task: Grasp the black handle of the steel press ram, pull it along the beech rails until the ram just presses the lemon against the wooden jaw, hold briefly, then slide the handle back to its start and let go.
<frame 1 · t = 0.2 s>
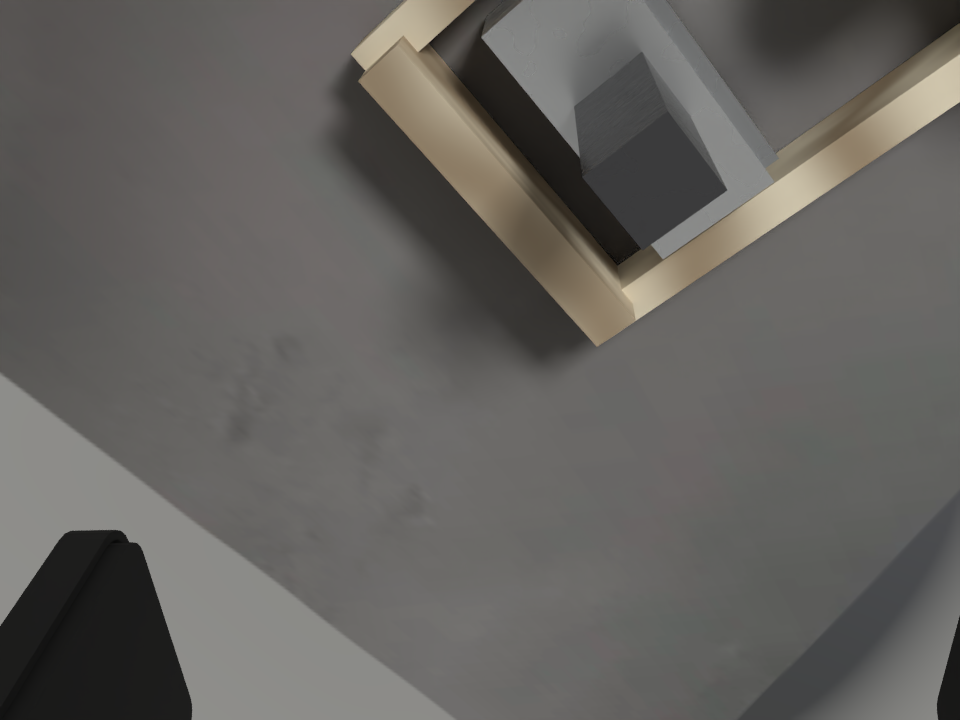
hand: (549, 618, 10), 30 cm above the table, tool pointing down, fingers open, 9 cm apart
ram: (643, 120, 31), point 6 cm above the table, slide at 0.0 cm
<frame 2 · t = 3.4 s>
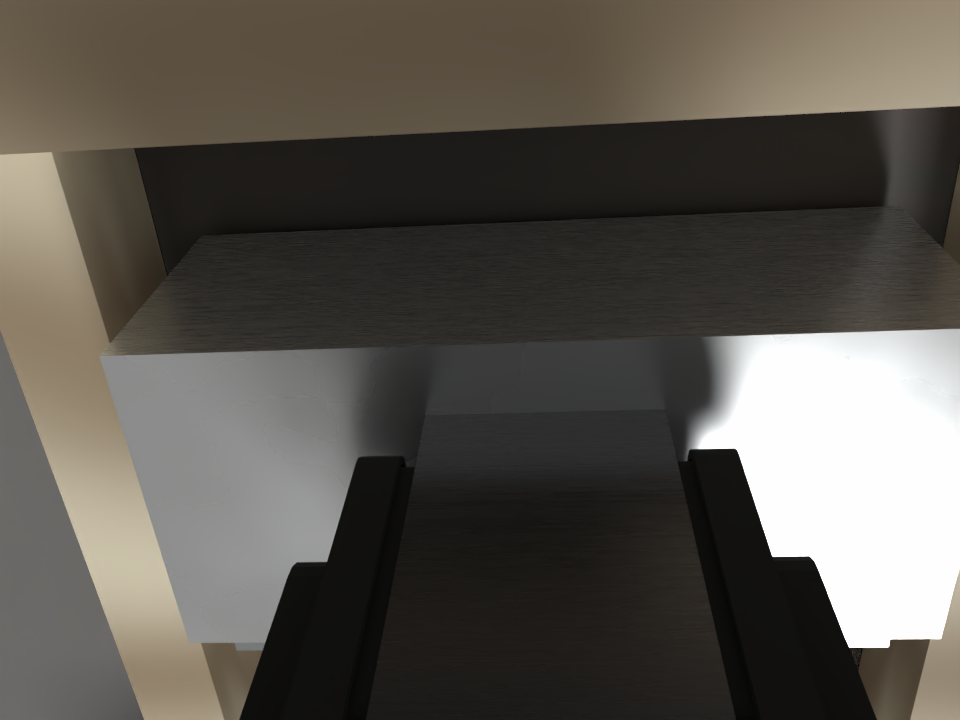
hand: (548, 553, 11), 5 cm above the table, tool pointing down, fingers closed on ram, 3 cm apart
ram: (549, 620, 11), point 6 cm above the table, slide at 0.0 cm, touching gripper
press frame: (553, 603, 19), on the table
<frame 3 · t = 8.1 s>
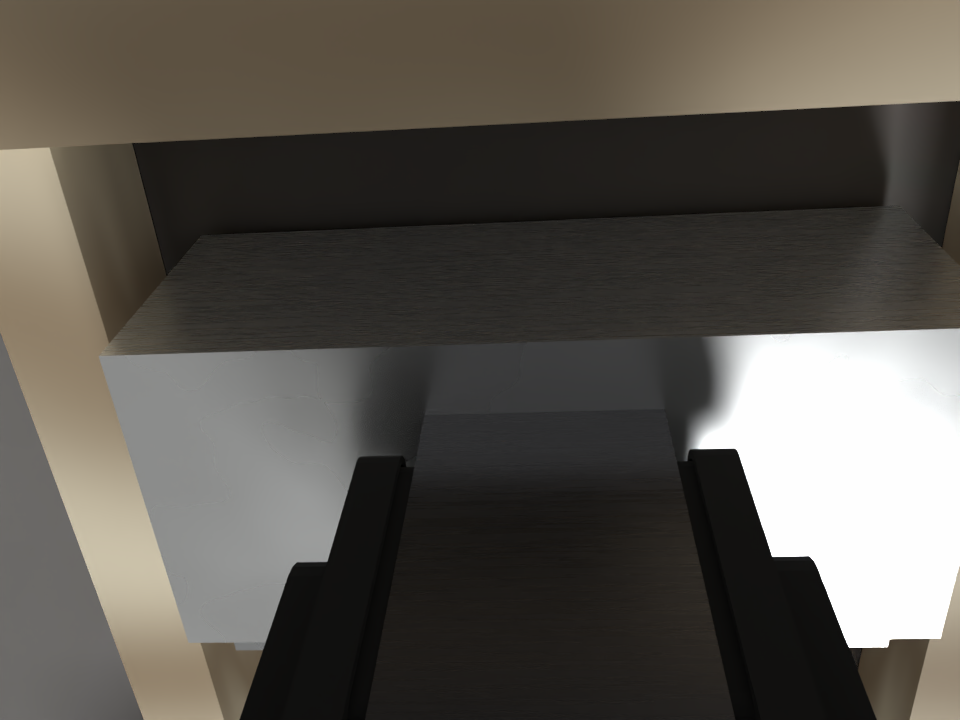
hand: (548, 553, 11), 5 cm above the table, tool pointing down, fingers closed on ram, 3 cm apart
ram: (549, 620, 11), point 6 cm above the table, slide at 0.1 cm, touching gripper
press frame: (553, 601, 19), on the table
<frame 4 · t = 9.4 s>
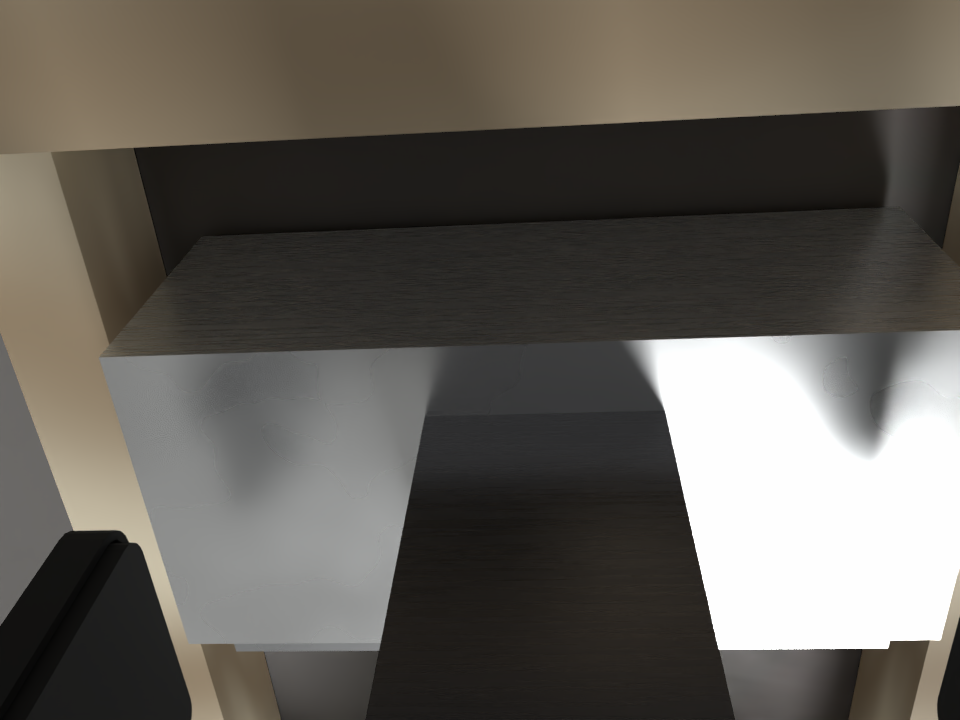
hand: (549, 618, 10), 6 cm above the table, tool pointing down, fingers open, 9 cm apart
ram: (549, 622, 11), point 6 cm above the table, slide at 0.0 cm
press frame: (553, 603, 19), on the table
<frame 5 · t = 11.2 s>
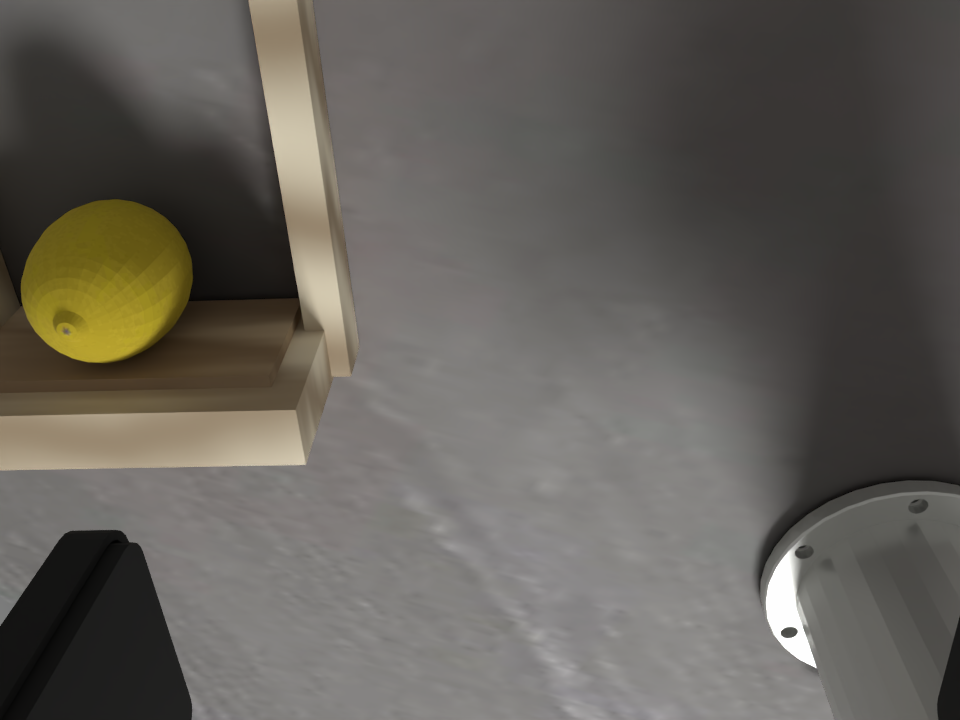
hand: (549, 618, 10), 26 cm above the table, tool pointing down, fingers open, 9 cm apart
lemon: (150, 233, 37), resting in press frame
press frame: (100, 45, 33), on the table
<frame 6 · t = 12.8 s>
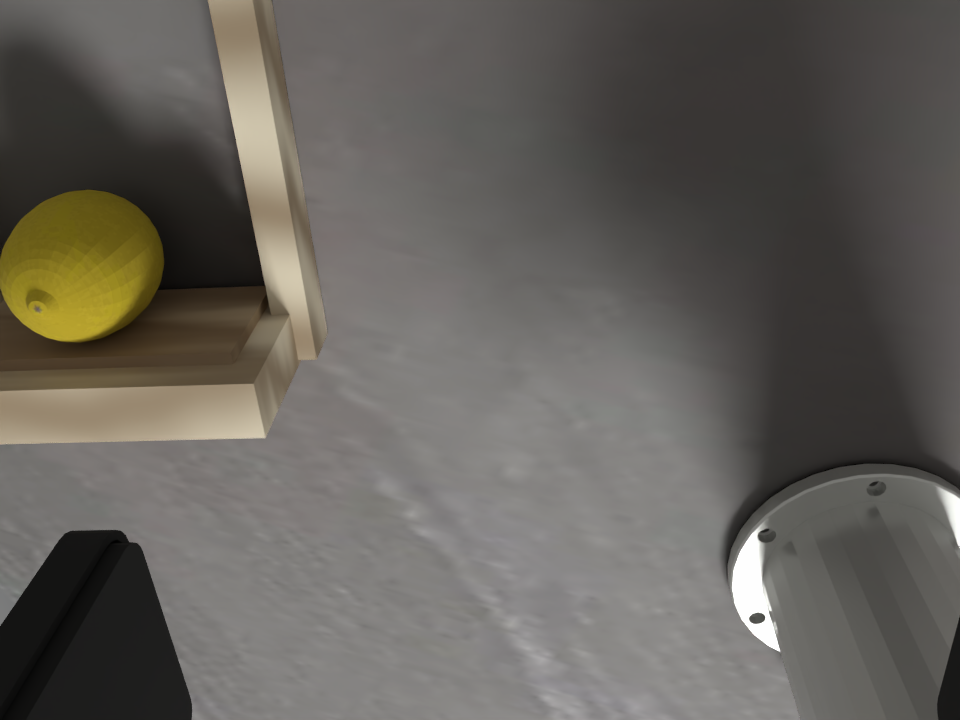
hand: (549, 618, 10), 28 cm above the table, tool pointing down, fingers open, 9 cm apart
lemon: (127, 225, 39), resting in press frame
press frame: (76, 46, 35), on the table
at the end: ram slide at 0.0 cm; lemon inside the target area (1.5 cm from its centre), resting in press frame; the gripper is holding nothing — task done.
